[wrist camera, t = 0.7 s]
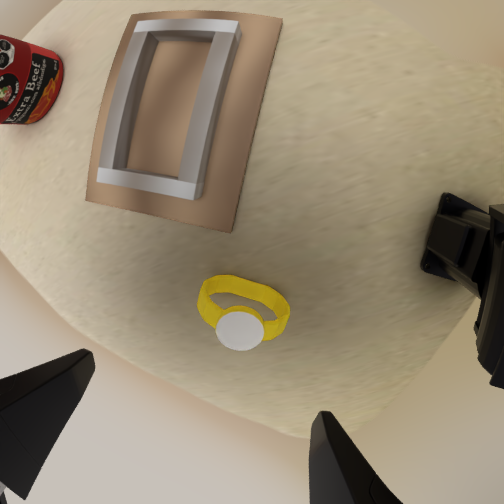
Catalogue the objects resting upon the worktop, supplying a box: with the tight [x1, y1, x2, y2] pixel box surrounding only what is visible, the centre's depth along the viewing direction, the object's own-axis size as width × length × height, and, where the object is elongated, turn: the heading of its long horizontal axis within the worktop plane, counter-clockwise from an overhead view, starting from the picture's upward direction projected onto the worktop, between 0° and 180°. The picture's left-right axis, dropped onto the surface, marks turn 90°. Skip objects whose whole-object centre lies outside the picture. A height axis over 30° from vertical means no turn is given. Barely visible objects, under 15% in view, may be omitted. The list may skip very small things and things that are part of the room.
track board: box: [86, 10, 283, 233], centre depth 15 cm, size 12×16×3 cm
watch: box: [197, 275, 290, 351], centre depth 18 cm, size 6×3×6 cm, turn 73°
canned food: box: [0, 35, 63, 124], centre depth 11 cm, size 8×8×11 cm
